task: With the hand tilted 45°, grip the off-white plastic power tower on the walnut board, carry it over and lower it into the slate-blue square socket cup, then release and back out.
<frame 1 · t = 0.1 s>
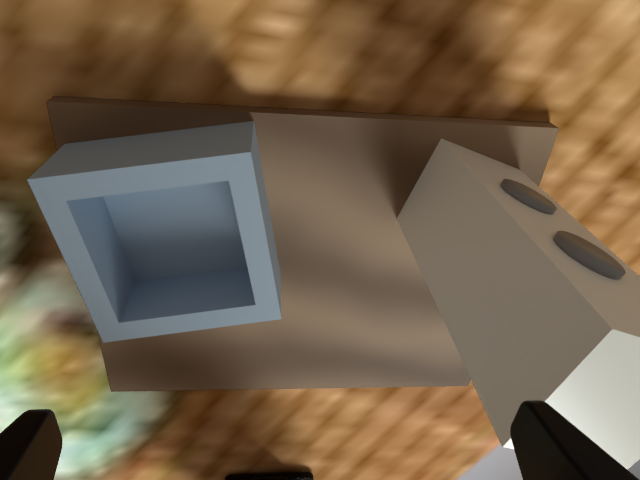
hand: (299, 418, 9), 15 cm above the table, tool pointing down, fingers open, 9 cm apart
power tower: (457, 194, 23), point 1 cm above the table, touching walnut board
socket cup: (183, 214, 22), resting on walnut board
walnut board: (305, 267, 25), on the table
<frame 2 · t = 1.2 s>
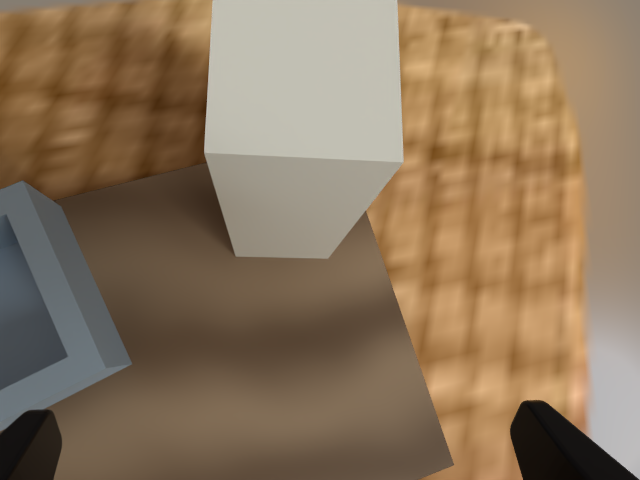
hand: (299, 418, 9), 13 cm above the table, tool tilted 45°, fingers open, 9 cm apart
power tower: (283, 213, 23), point 1 cm above the table, touching walnut board
socket cup: (5, 325, 20), resting on walnut board
walnut board: (168, 359, 22), on the table
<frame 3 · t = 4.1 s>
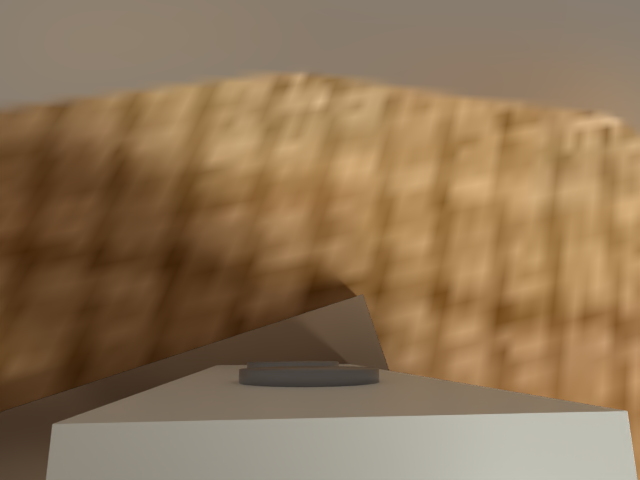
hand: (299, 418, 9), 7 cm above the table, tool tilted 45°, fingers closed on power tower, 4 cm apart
power tower: (283, 435, 15), point 1 cm above the table, touching gripper, walnut board
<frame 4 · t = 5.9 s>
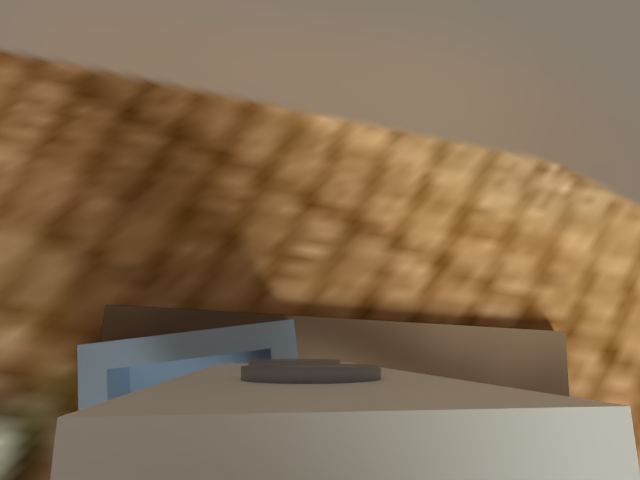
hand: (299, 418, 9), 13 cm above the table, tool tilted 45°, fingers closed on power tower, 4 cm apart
power tower: (284, 433, 15), point 7 cm above the table, touching gripper
socket cup: (207, 426, 20), resting on walnut board
when the fingers open (9 cm above the table, at t = 7.8 s): power tower drops 1 cm, resting on socket cup.
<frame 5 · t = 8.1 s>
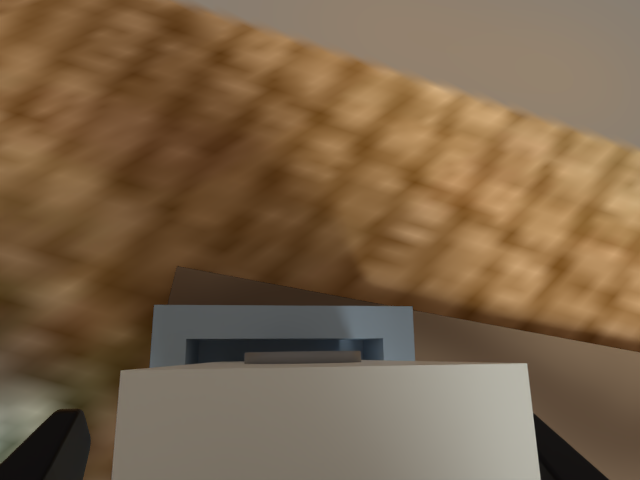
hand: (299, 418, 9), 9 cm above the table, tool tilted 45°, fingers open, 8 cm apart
power tower: (283, 424, 17), point 1 cm above the table, touching socket cup
socket cup: (281, 424, 17), resting on walnut board
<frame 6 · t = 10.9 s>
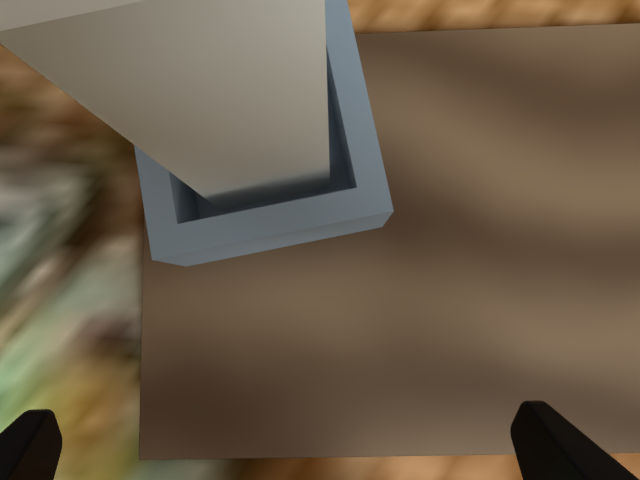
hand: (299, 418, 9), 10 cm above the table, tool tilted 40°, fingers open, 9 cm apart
power tower: (264, 145, 19), point 1 cm above the table, touching socket cup
socket cup: (266, 151, 19), resting on walnut board
walnut board: (413, 235, 19), on the table
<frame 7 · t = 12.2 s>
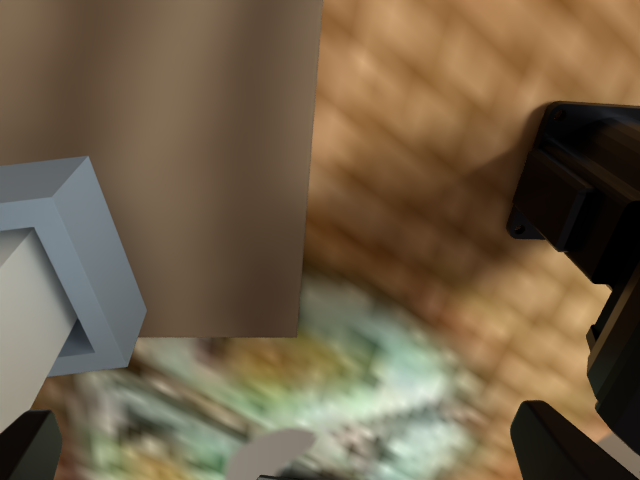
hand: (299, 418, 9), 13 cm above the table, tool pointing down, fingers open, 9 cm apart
power tower: (20, 259, 20), point 1 cm above the table, touching socket cup
socket cup: (28, 252, 20), resting on walnut board
walnut board: (95, 115, 18), on the table
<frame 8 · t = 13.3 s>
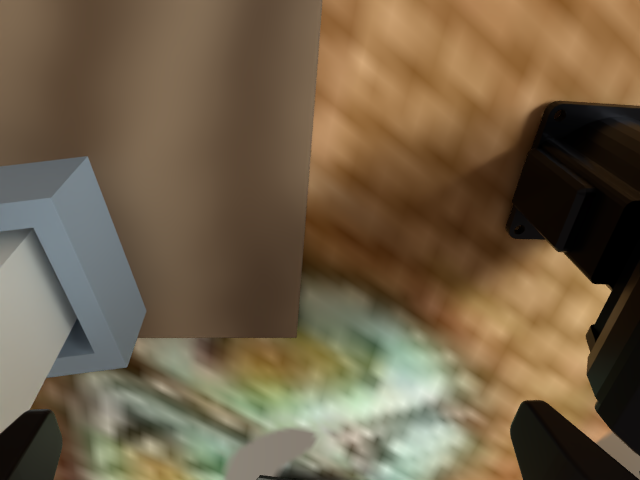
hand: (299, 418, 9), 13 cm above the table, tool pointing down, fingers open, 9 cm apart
power tower: (19, 260, 20), point 1 cm above the table, touching socket cup
socket cup: (28, 252, 20), resting on walnut board
walnut board: (95, 115, 18), on the table
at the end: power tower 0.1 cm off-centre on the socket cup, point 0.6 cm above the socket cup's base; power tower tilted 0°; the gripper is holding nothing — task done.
